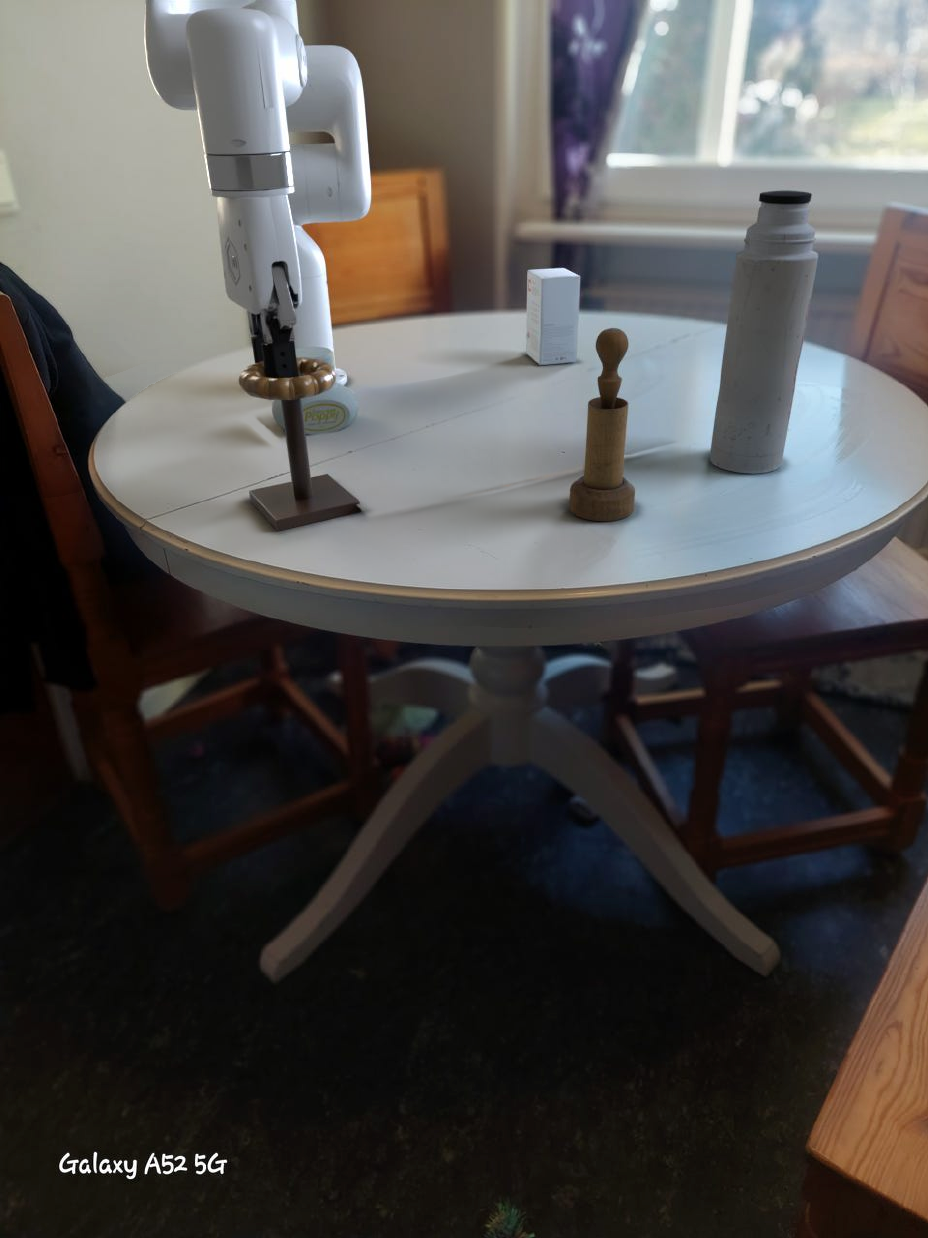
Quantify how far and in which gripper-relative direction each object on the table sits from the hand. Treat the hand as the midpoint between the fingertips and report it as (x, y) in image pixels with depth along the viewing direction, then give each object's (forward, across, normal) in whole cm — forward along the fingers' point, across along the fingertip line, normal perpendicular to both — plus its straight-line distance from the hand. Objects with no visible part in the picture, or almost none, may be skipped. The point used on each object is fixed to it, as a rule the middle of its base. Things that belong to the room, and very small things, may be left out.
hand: (277, 377), depth 88 cm
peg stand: (+13, +4, 0) cm, 13 cm away
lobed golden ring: (-1, +3, 0) cm, 3 cm away
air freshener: (+13, -18, +10) cm, 24 cm away
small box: (+13, -31, +55) cm, 65 cm away
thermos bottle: (+13, +19, +48) cm, 53 cm away
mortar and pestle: (+13, +21, +26) cm, 36 cm away
